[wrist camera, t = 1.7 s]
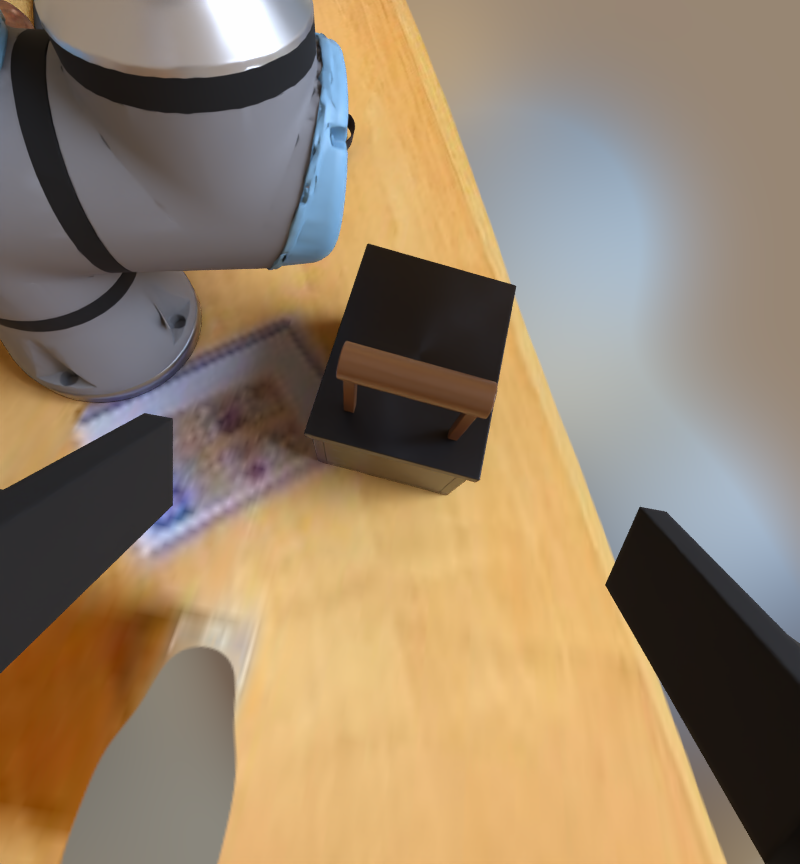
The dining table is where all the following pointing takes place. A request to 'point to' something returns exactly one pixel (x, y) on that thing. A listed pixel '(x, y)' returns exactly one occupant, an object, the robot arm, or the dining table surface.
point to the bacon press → (415, 364)
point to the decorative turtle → (14, 16)
